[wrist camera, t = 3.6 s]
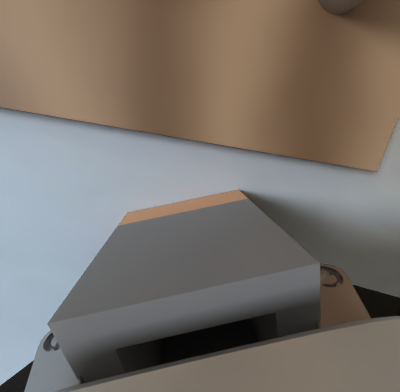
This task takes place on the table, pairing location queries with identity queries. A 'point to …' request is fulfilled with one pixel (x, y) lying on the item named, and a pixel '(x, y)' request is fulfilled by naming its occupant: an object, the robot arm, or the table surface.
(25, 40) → the pin board
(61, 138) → the table surface
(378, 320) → the robot arm
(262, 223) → the sleeve
